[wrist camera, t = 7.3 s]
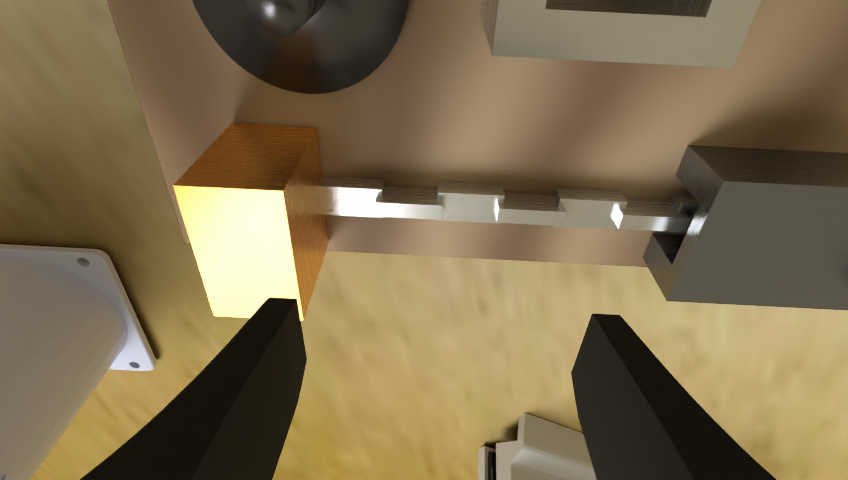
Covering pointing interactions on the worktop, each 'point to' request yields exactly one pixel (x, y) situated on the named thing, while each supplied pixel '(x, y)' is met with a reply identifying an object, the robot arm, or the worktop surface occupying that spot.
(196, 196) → the chain slider
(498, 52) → the grey recessed block
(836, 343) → the worktop surface
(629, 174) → the deck plank
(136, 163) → the worktop surface
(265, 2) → the post
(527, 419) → the light grey piece
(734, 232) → the chain housing
